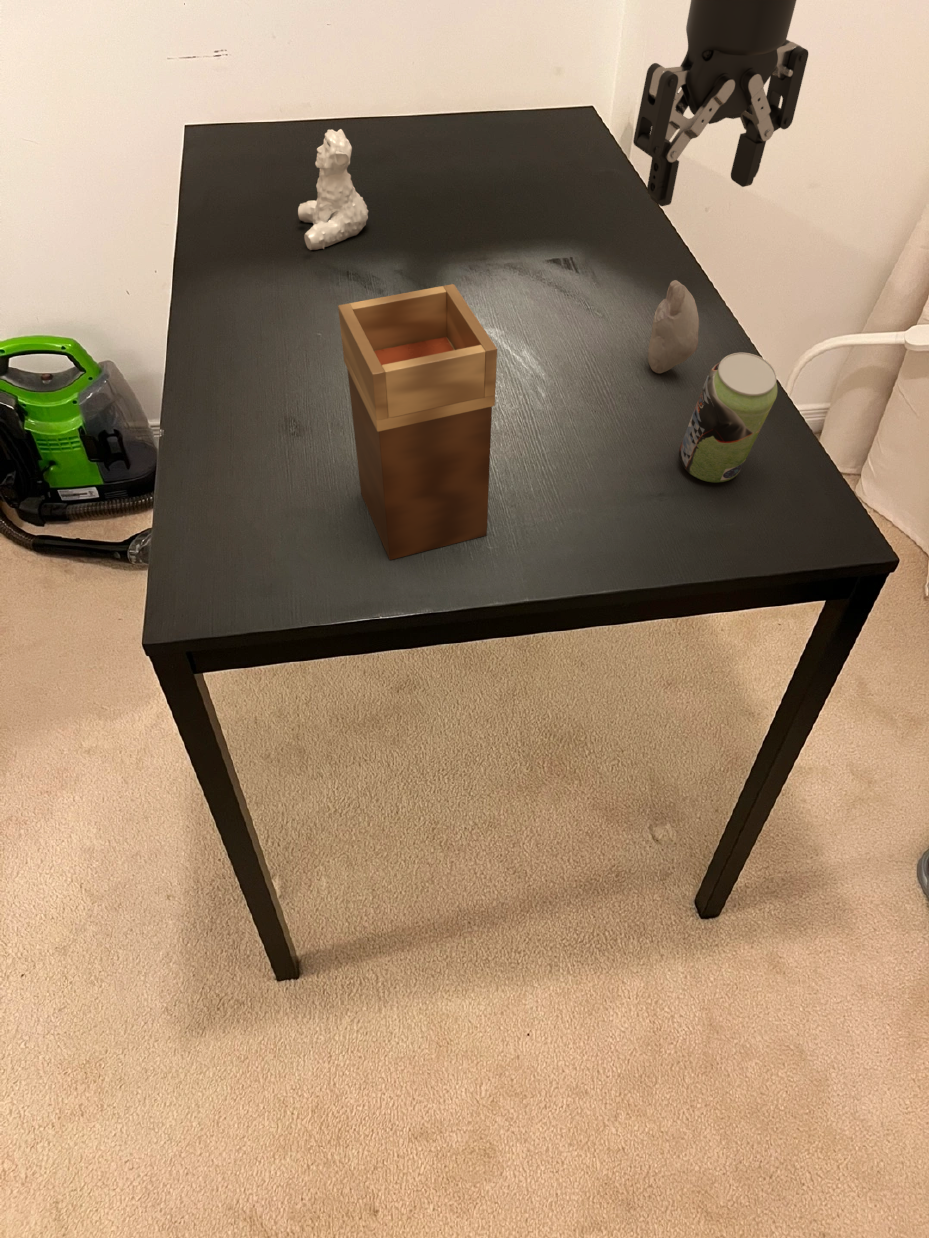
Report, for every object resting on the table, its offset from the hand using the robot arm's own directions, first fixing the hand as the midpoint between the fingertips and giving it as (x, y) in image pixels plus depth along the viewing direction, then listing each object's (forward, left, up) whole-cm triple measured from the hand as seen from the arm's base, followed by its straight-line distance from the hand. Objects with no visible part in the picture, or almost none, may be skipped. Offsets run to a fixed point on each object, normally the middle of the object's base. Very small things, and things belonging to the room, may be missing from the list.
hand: (700, 192), depth 75 cm
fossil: (-2, -3, -21) cm, 21 cm away
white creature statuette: (+23, -44, -21) cm, 53 cm away
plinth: (+29, +9, -20) cm, 37 cm away
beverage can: (+1, +13, -21) cm, 24 cm away
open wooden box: (+29, +9, -6) cm, 31 cm away
